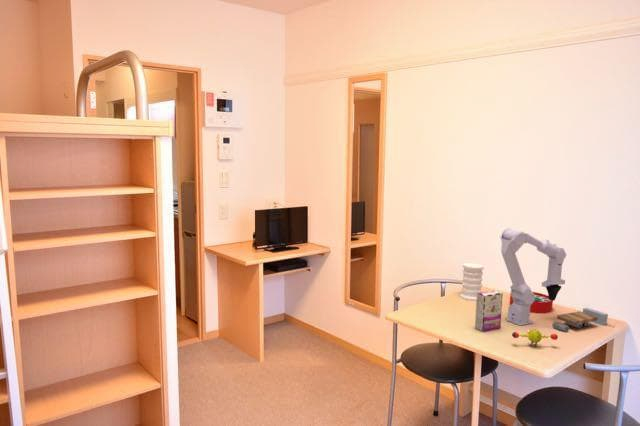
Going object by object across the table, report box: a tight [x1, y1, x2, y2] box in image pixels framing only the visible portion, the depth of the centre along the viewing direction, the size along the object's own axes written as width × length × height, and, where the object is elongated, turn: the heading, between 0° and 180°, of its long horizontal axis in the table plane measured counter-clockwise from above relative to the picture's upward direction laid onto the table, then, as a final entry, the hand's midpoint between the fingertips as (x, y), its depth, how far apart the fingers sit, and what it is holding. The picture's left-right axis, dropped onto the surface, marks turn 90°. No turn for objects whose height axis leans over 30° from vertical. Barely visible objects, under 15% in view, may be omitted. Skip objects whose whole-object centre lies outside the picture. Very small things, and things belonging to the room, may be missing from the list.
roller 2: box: [564, 321, 583, 330], centre depth 216 cm, size 3×6×3 cm, turn 29°
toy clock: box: [509, 291, 554, 315], centre depth 243 cm, size 20×6×20 cm
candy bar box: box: [474, 289, 504, 333], centre depth 209 cm, size 11×5×16 cm, turn 118°
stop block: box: [582, 307, 609, 326], centre depth 224 cm, size 3×10×5 cm, turn 29°
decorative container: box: [459, 262, 485, 302], centre depth 255 cm, size 12×12×18 cm
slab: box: [556, 310, 598, 325], centre depth 217 cm, size 16×9×2 cm, turn 118°
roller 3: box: [582, 322, 590, 328], centre depth 219 cm, size 3×6×3 cm, turn 28°
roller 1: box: [551, 321, 570, 333], centre depth 211 cm, size 3×6×3 cm
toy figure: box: [511, 328, 559, 347], centre depth 192 cm, size 18×6×7 cm, turn 88°
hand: (551, 300), depth 224 cm, fingers closed
